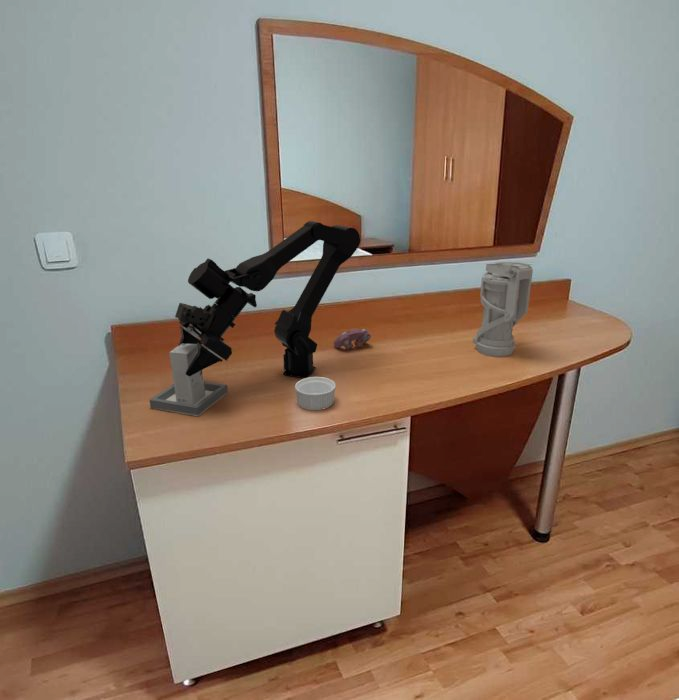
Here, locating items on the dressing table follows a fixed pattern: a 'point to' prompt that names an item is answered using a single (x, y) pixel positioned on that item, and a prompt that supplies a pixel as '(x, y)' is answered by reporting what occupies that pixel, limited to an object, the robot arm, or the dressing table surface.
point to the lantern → (502, 306)
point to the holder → (168, 403)
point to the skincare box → (184, 385)
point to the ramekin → (315, 392)
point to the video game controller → (352, 338)
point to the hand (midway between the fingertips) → (180, 368)
